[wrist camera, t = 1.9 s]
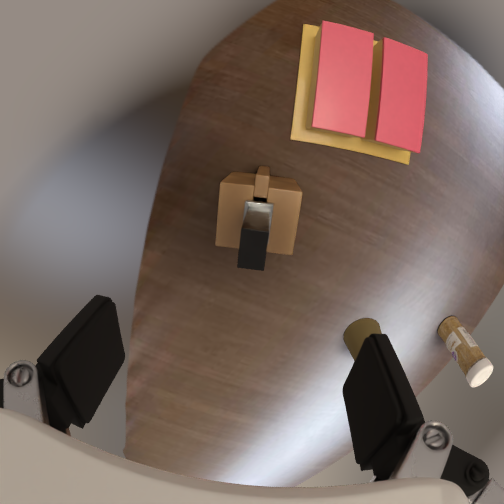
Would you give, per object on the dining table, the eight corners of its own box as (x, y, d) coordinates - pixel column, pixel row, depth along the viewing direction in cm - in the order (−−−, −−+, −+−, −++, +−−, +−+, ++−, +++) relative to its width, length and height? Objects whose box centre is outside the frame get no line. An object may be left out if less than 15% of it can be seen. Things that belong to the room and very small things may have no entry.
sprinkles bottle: (434, 326, 39) (468, 381, 26) (454, 310, 37) (493, 361, 25) (440, 340, 40) (472, 392, 27) (459, 324, 38) (494, 374, 26)
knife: (248, 212, 33) (232, 272, 19) (252, 183, 32) (237, 221, 18) (268, 215, 33) (267, 276, 19) (272, 186, 32) (274, 226, 18)
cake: (290, 139, 30) (294, 139, 25) (303, 25, 24) (308, 6, 19) (407, 164, 30) (428, 170, 25) (417, 57, 24) (438, 48, 19)
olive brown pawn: (379, 313, 38) (404, 363, 28) (380, 341, 40) (401, 391, 30) (341, 324, 39) (357, 379, 29) (345, 352, 41) (360, 405, 31)
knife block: (227, 227, 34) (214, 255, 26) (233, 162, 31) (221, 170, 23) (286, 235, 34) (290, 265, 26) (295, 170, 31) (304, 181, 23)
